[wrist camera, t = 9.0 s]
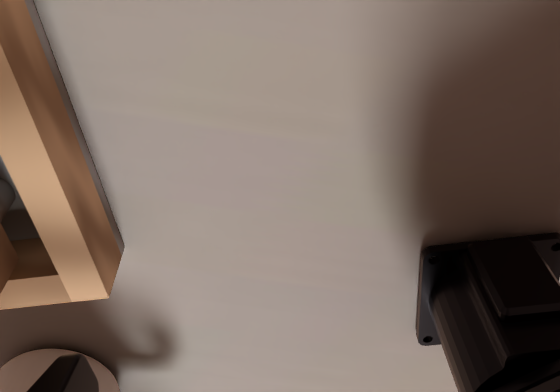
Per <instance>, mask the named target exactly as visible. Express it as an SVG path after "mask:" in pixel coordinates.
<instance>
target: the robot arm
mask: <svg viewBox="0 0 560 392" xmlns="http://www.w3.org/2000/svg"><path fill="white" fill-rule="evenodd" d="M555 243H556V244H555ZM554 244H555V245H554ZM433 256H436V257H435V258H432V259H431V257H433ZM559 277H560V233H549V234H540V235H530V236H521V237H512V238H503V239H494V240H484V241H475V242H466V243H457V244H447V245H438V246H431V247H428V248H426V249H424V250H423V252H422V253H421V262H420V279H419V296H418V313H417V330H416V335H417V339H418V342H419V343H420V344H421V345H424V346H429V345H439V344H442V347H443V350H444V353H445V356H446V359H447V361H448V364H449V367H450V370H451V373H452V375H453V378H454V381H455V384H456V387H457V389H458V392H560V283H559ZM26 392H99V383H98V380H97V377H96V375H95V374H94V372H93V370H92V368H91V366H90V364H89V362H88V360H87V358H86V357H85V355H83V354H82V353H74V354H65V355H61V356H59V357H58V358H57V359H56V360H55V361H54V362H53V363H52V364H51V365H50V366H49V367H48V368H47V370H46V371H45V372H44V373H43V374H42V375H41V376H40V377H39V378H38V379H37V381H36V382H35V383H34V384H33V385H32V386H31V387H30V388H29V389H28V390H27V391H26Z"/></svg>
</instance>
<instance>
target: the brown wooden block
mask: <svg viewBox="0 0 560 392" xmlns="http://www.w3.org/2000/svg"><path fill="white" fill-rule="evenodd" d="M18 261H19V257H18V255H17V253H16V251H15V250H14V248H13V246H12V244H11V242H10V240H9V238H8V236H7V234H6V232H5V230H4V229H3V227H2V225H1V223H0V294H1V292H2V290H3V288H4V287H5V285H6V283H7V281H8V279H9V277H10V275H11V274H12V272H13V270H14V268H15V266H16V264H17V263H18Z"/></svg>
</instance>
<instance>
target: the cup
mask: <svg viewBox="0 0 560 392" xmlns="http://www.w3.org/2000/svg"><path fill="white" fill-rule="evenodd" d="M74 353H78V352H74V351H70V350H64V349H39V350H33V351H29V352H26V353H23V354H21V355H18V356H16V357H15V358H13V359H11V360H10V361H8V362H7V363H6V364H5V365H3V366H2V367H1V368H0V392H26V391H27V390H28V389H29V388H30V387H31V386H32V385H33V384H34V383H35V382H36V381H37V379H38V378H39V377H40V376H41V375H42V374H43V373H44V372H45V371H46V370H47V368H48V367H49V366H50V365H51V364H52V363H53V362H54V361H55V360H56V359H57V358H58V357H59V356H61V355H65V354H74ZM83 355H84V354H83ZM85 357H86V358H87V360H88V362H89V364H90V366H91V368H92V370H93V372H94V374H95V375H96V377H97V380H98V383H99V392H120V389H119V386H118V383H117V381H116V379H115V377H114V376H113V374H112V373H111V372H110V371H109V370H108V369H107V368H106V367H105V366H104V365H102V364H101V363H100V362H98V361H96V360H95V359H93V358H91V357H89V356H86V355H85Z"/></svg>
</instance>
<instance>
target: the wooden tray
mask: <svg viewBox="0 0 560 392" xmlns="http://www.w3.org/2000/svg"><path fill="white" fill-rule="evenodd" d="M0 223H1V225H2V227H3V229H4V230H5V232H6V234H7V236H8V238H9V240H10V242H11V244H12V246H13V248H14V250H15V251H16V253H17V255H18V257H19V261H18V263H17V264H16V266H15V268H14V270H13V272H12V274H11V275H10V277H9V279H8V281H7V283H6V285H5V287H4V288H3V290H2V292H1V294H0V310H3V309H12V308H22V307H31V306H40V305H50V304H59V303H68V302H78V301H87V300H96V299H105V298H109V296H110V293H111V290H112V286H113V283H114V280H115V277H116V273H117V270H118V267H119V264H120V261H121V257H122V254H123V251H124V248H125V247H124V244H123V241H122V239H121V236H120V233H119V231H118V228H117V225H116V223H115V220H114V217H113V215H112V212H111V209H110V206H109V204H108V201H107V198H106V196H105V193H104V190H103V188H102V185H101V182H100V180H99V177H98V174H97V172H96V169H95V166H94V163H93V161H92V158H91V155H90V153H89V150H88V147H87V145H86V142H85V139H84V137H83V134H82V131H81V129H80V126H79V123H78V121H77V118H76V115H75V112H74V110H73V107H72V104H71V102H70V99H69V96H68V94H67V91H66V88H65V86H64V83H63V80H62V78H61V75H60V72H59V69H58V67H57V64H56V61H55V59H54V56H53V53H52V51H51V48H50V45H49V43H48V40H47V37H46V35H45V32H44V29H43V26H42V24H41V21H40V18H39V16H38V13H37V10H36V8H35V5H34V2H33V0H0Z"/></svg>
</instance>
